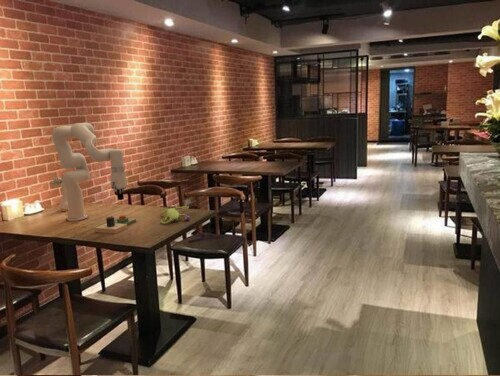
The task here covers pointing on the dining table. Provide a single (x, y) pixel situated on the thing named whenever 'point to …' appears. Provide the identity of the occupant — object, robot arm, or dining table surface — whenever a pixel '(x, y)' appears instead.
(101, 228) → the cream flat block
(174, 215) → the figurine
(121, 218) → the button
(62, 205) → the flower vase
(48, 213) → the dining table surface
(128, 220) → the housing
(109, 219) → the knob
